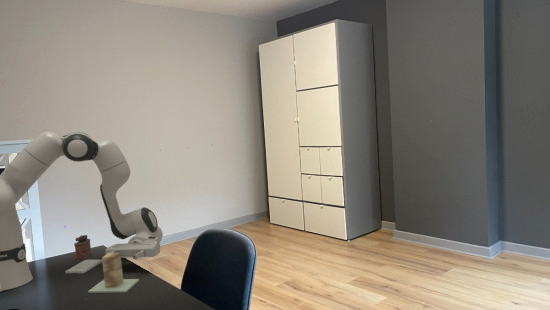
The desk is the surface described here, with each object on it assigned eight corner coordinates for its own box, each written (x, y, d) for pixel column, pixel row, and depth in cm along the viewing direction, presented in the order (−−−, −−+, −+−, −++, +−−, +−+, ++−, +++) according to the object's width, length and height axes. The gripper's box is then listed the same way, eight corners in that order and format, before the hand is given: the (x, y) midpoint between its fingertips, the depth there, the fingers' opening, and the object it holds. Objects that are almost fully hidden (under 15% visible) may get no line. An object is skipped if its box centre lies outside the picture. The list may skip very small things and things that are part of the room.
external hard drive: (102, 263, 176) (83, 274, 164) (85, 263, 178) (65, 274, 166) (101, 259, 176) (83, 270, 164) (84, 259, 177) (64, 270, 165)
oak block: (105, 287, 146) (101, 257, 145) (111, 282, 151) (108, 253, 150) (117, 287, 146) (113, 257, 145) (123, 282, 150) (120, 252, 149)
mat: (88, 292, 144) (88, 291, 144) (103, 281, 154) (103, 279, 154) (126, 292, 143) (126, 290, 142) (139, 280, 152) (139, 279, 152)
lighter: (87, 254, 187) (85, 233, 186) (93, 254, 186) (91, 233, 185) (74, 260, 180) (71, 238, 179) (80, 261, 179) (77, 238, 178)
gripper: (114, 238, 170) (96, 250, 156) (162, 237, 167) (147, 248, 153) (116, 253, 170) (97, 266, 157) (163, 252, 168) (149, 265, 154)
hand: (122, 257), depth 155 cm, fingers open, 8 cm apart
